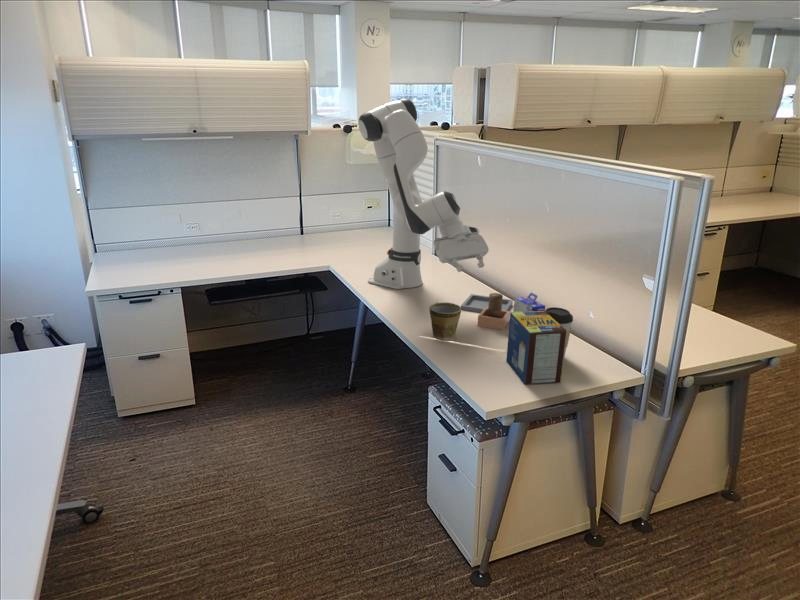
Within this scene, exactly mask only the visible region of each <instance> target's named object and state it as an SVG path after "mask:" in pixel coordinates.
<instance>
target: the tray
mask: <svg viewBox="0 0 800 600" xmlns="http://www.w3.org/2000/svg"><path fill="white" fill-rule="evenodd" d="M488 306H489V295H488V296H487V295H479V294H475V293H474V294H473V293H470V295H469V296H468V297H467V298H466V299H465V300H464V301H463V303H462V304H461V305H460V307H461V311H467V312H469V311H470V312H475V313H479V314H480V313H481V312H482V310H483V309H484V308H488ZM512 306H514V300H513V299H508V298H502V310H505V311H510V309H511V307H512Z"/></svg>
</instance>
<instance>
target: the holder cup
mask: <svg viewBox="0 0 800 600" xmlns="http://www.w3.org/2000/svg"><path fill="white" fill-rule="evenodd" d="M510 312H511V311H510V310H508V311H505V310H501V318H495V317H488V308H484V309H483V310H482V312H481V313H480V312H479V315H477V326H478V327H484V328H492V329H497V330H503V331H505V329H506V327H507V326H508V324H509V323H510Z"/></svg>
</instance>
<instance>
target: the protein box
mask: <svg viewBox="0 0 800 600" xmlns="http://www.w3.org/2000/svg"><path fill="white" fill-rule="evenodd" d="M508 324H509V325H508V326H509V327H508V336H507V338H508V339H507V347H506V348H507V349H506V359H505V361H506V362H507V363H508V365H509V366H510V367H511V369H512V370H513V371H514V373H515V374H516V376H517V377H518V378H519V379H520V381H521V382H522V383H523V385H541V384H555V383H556V384H557V383H559V384H560V383H561V382H562V381H561V380H562V371H563V370H562V369H563V363H564V360H563V356H564V348H565V340H566V332H567V330H566V329H565V328H563V327H562V326H561V325H560V324H559V323H558V322H557V321H555V320H554V319H553V318H552V317H551V316H550V315H549V314H547V313H546V312H545V311H544V310H543V311H520V312H513V311H510V321H509V323H508Z"/></svg>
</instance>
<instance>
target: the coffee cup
mask: <svg viewBox="0 0 800 600" xmlns="http://www.w3.org/2000/svg"><path fill="white" fill-rule="evenodd" d="M545 312H546V313H547V314H549V315H550V316H551V317H552V318H553V319H554V320H555V321H557V322H558V323H559V324H560V325H561V326H562V327H563V328H565V329H566V330H567V332H566V340H565V348H564V356H563V361H564V360H565V357H566V356H565V355H566V351H567V347H568V345H569V341H570V335H571V330H572V323H573V322H574V316H573V314H572V313H570V311H569V310H568V309H565V308H561V307H556V306H555V307H547V308H545Z"/></svg>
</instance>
